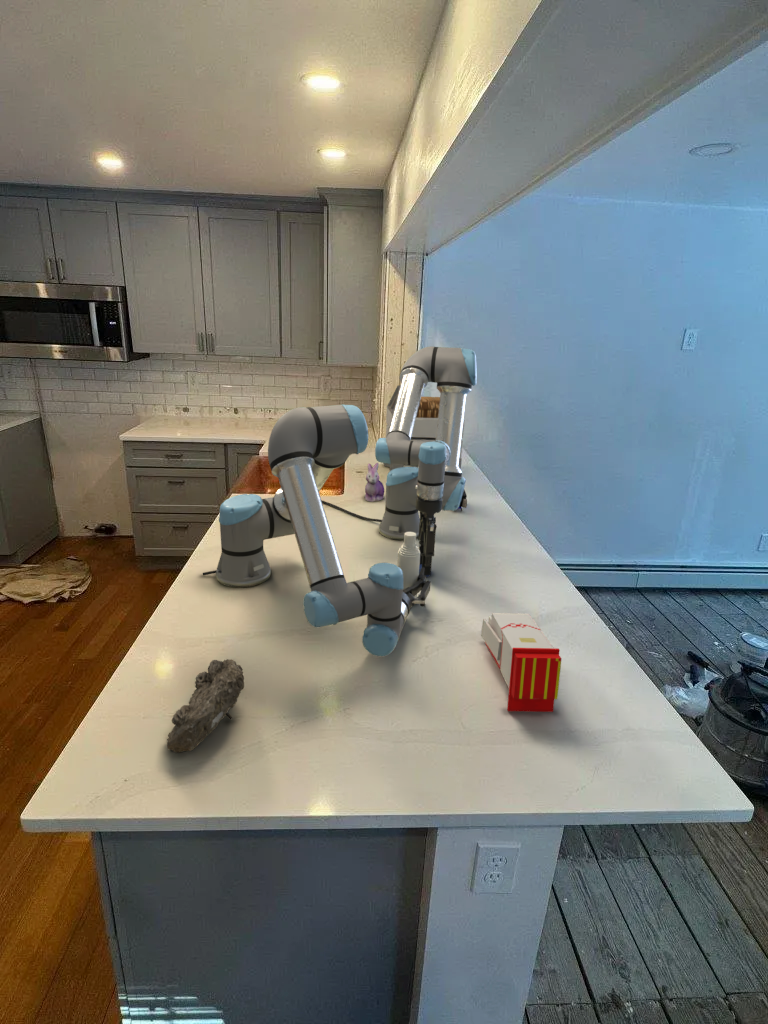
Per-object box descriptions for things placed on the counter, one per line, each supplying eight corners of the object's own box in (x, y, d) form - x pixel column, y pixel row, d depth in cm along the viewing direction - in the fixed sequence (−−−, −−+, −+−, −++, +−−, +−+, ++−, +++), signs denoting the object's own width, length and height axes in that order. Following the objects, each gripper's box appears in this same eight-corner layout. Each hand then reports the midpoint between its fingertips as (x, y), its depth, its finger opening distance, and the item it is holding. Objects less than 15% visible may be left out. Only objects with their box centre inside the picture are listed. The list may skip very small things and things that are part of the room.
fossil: (192, 660, 117) (244, 628, 112) (224, 691, 120) (276, 661, 115) (142, 746, 98) (202, 712, 93) (182, 779, 101) (242, 748, 96)
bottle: (421, 600, 155) (426, 533, 148) (408, 607, 151) (412, 540, 144) (404, 593, 159) (408, 527, 152) (390, 600, 154) (394, 533, 148)
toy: (527, 598, 138) (570, 654, 108) (522, 650, 141) (563, 718, 111) (477, 597, 137) (507, 653, 108) (474, 649, 140) (502, 717, 111)
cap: (413, 573, 170) (413, 566, 170) (422, 569, 174) (423, 562, 173) (424, 578, 168) (425, 571, 167) (434, 574, 171) (434, 567, 170)
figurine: (369, 503, 229) (370, 467, 224) (358, 496, 237) (359, 461, 232) (389, 500, 233) (391, 465, 228) (378, 493, 242) (380, 459, 236)
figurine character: (467, 516, 223) (461, 500, 237) (469, 499, 220) (463, 483, 233) (450, 516, 223) (446, 499, 236) (452, 498, 220) (447, 483, 233)
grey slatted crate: (382, 463, 289) (386, 382, 275) (445, 464, 293) (451, 384, 279) (390, 482, 257) (394, 392, 243) (460, 483, 261) (468, 394, 247)
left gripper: (354, 617, 139) (377, 577, 160) (430, 630, 135) (443, 587, 156) (355, 590, 137) (378, 553, 158) (433, 602, 133) (446, 562, 154)
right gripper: (411, 486, 171) (407, 557, 178) (422, 507, 153) (416, 584, 161) (436, 487, 171) (430, 557, 179) (449, 507, 154) (442, 584, 162)
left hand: (411, 570), depth 157 cm, fingers closed on bottle, 6 cm apart
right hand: (424, 569), depth 170 cm, fingers open, 5 cm apart
